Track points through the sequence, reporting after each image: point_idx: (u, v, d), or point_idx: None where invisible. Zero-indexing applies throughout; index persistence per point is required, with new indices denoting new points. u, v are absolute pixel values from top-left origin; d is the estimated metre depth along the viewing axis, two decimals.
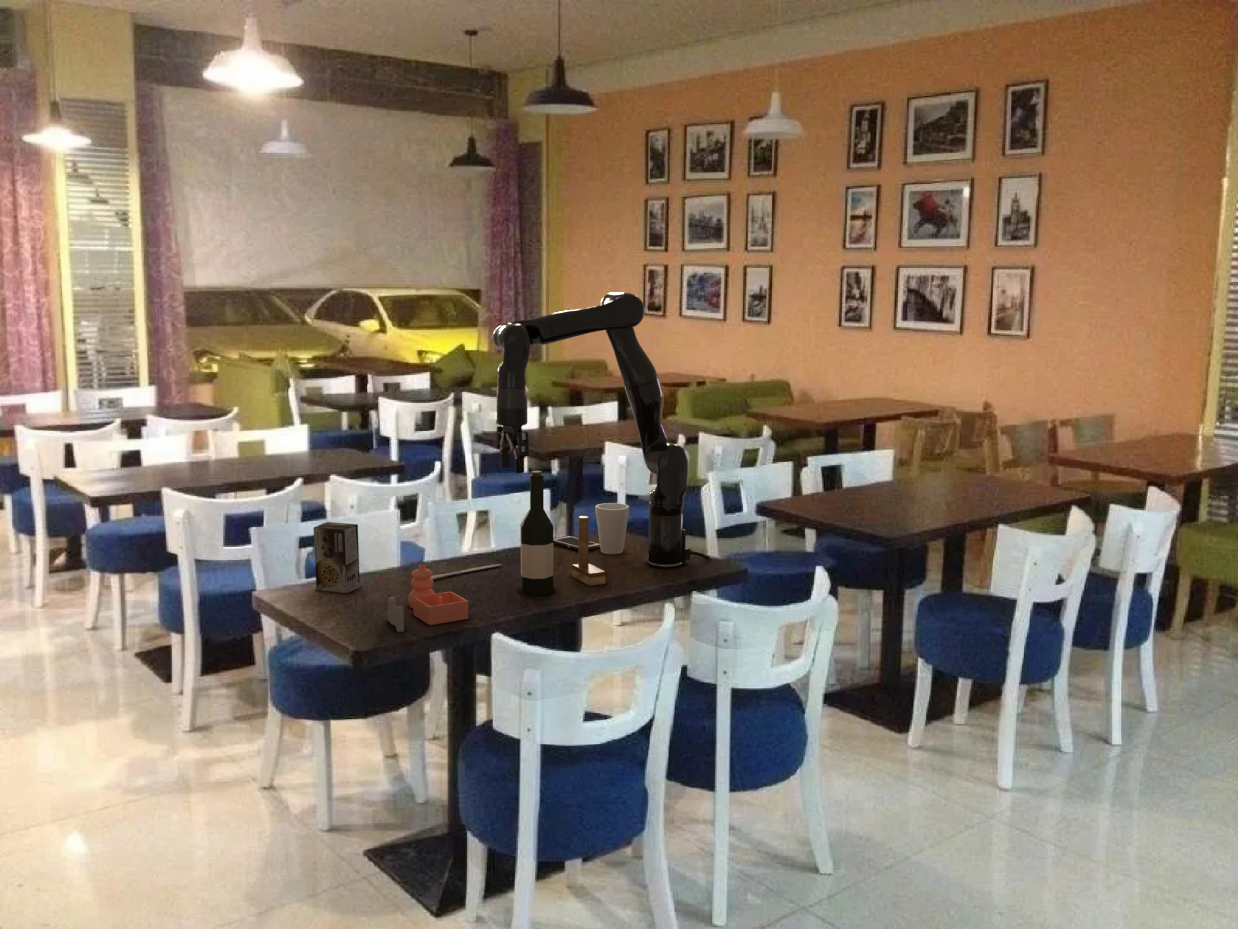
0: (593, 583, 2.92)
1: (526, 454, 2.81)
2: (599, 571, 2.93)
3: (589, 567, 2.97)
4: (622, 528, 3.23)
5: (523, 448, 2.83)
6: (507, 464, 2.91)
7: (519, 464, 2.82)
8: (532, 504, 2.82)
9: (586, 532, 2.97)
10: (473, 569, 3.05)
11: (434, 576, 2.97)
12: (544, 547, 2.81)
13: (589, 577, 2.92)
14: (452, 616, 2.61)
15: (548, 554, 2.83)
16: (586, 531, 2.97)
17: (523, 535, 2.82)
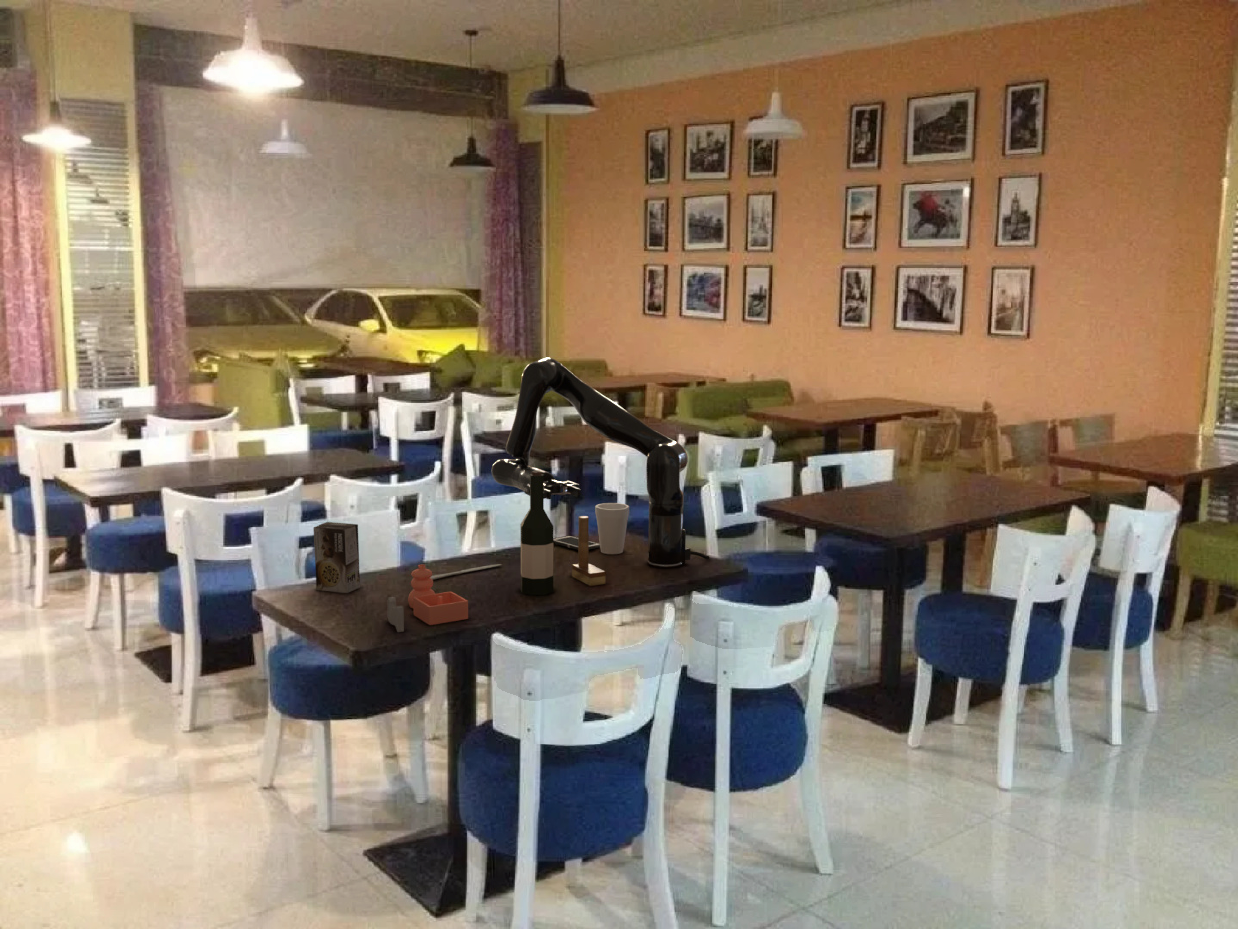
0: (593, 583, 2.92)
1: None
2: (599, 571, 2.93)
3: (589, 567, 2.97)
4: (622, 528, 3.23)
5: None
6: (576, 491, 3.08)
7: None
8: (532, 504, 2.82)
9: (586, 532, 2.97)
10: (473, 569, 3.05)
11: (434, 576, 2.97)
12: (544, 547, 2.81)
13: (589, 577, 2.92)
14: (452, 616, 2.61)
15: (548, 554, 2.83)
16: (586, 531, 2.97)
17: (523, 535, 2.82)
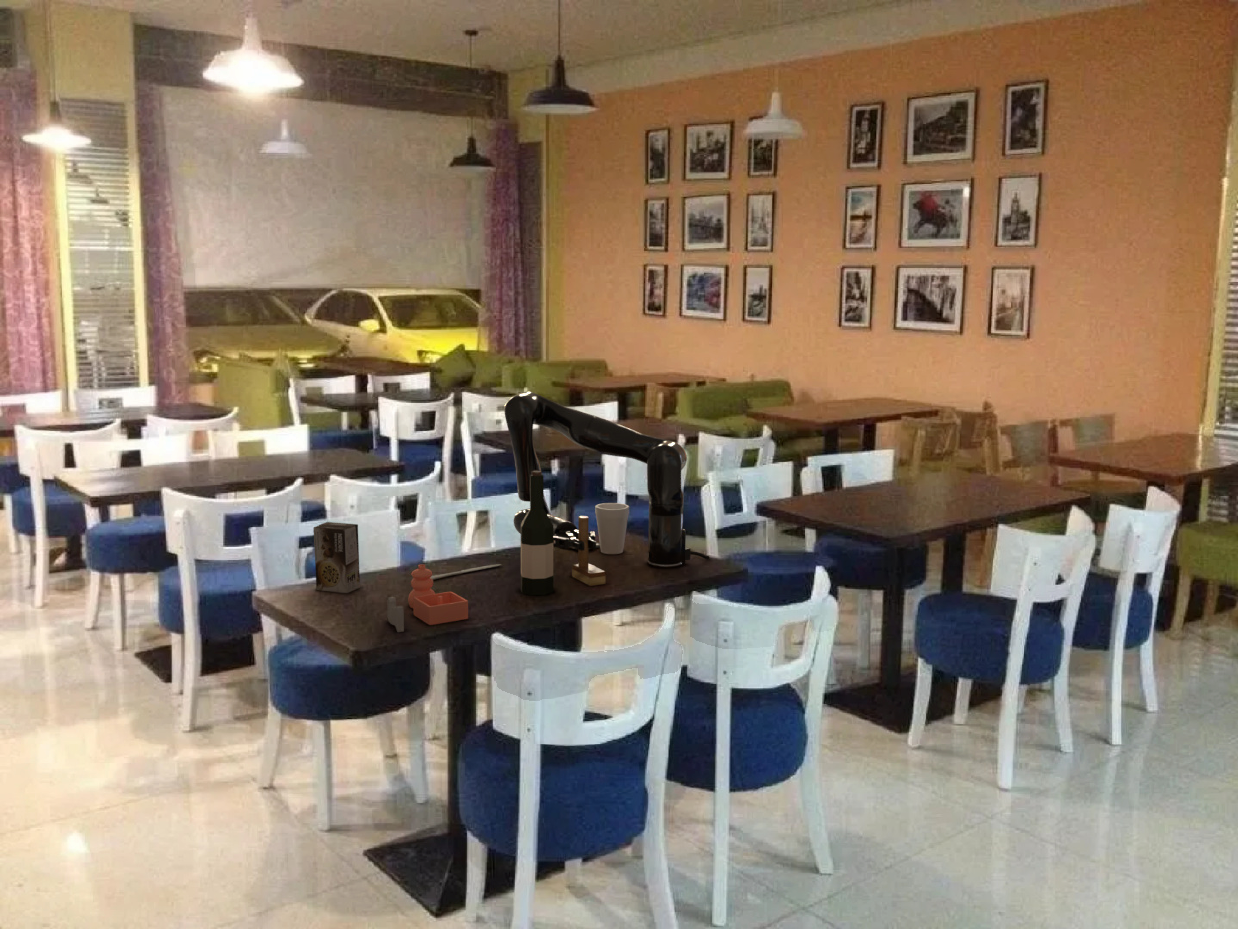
0: (593, 583, 2.92)
1: (564, 541, 2.98)
2: (599, 571, 2.93)
3: (589, 567, 2.97)
4: (622, 528, 3.23)
5: (569, 538, 3.00)
6: (591, 543, 2.97)
7: (575, 547, 2.96)
8: (532, 504, 2.82)
9: (586, 532, 2.97)
10: (473, 569, 3.05)
11: (434, 576, 2.97)
12: (544, 547, 2.81)
13: (589, 577, 2.92)
14: (452, 616, 2.61)
15: (548, 554, 2.83)
16: (586, 531, 2.97)
17: (523, 535, 2.82)
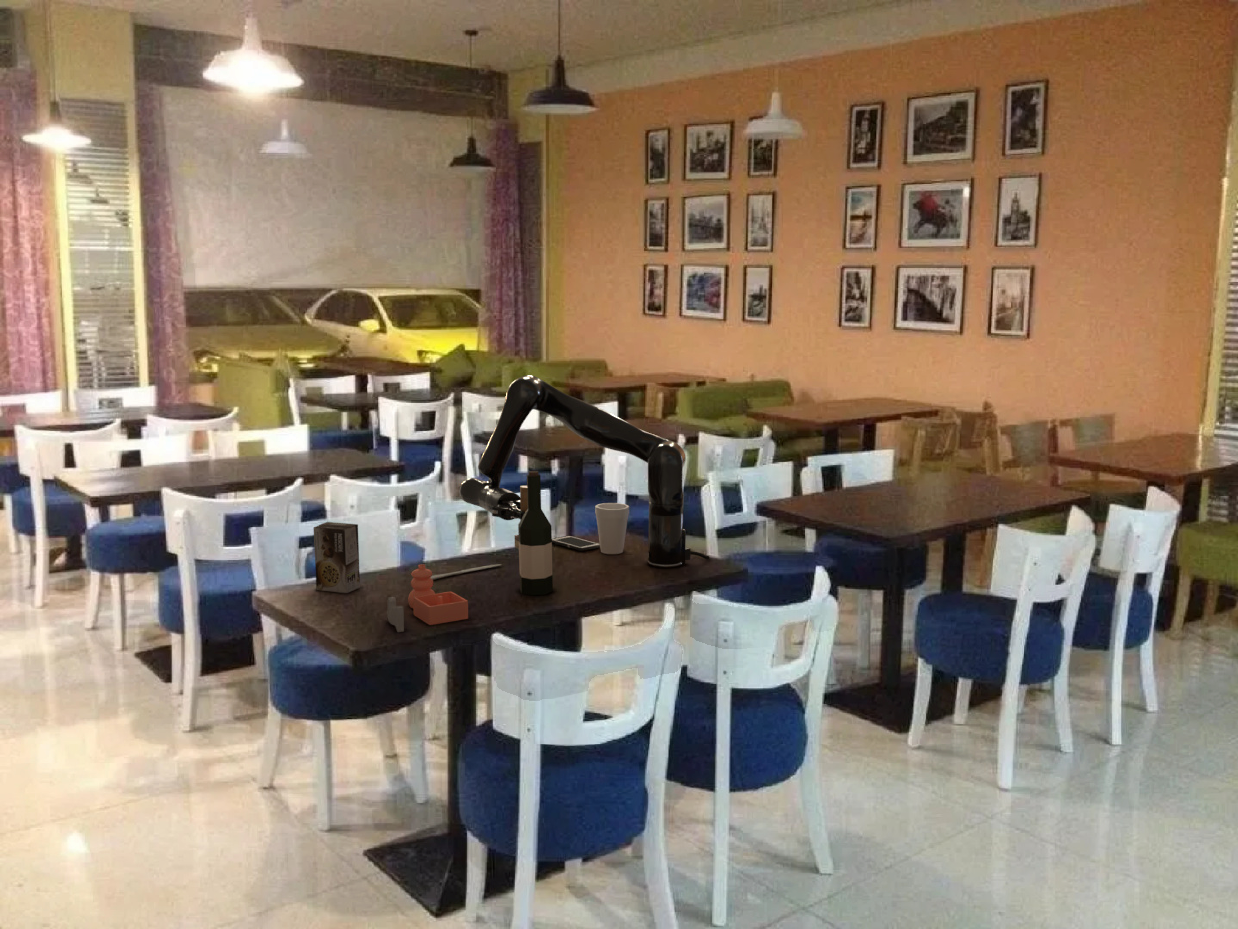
0: None
1: (506, 511, 2.95)
2: None
3: None
4: (622, 528, 3.23)
5: (511, 508, 2.96)
6: None
7: (517, 516, 2.93)
8: (530, 504, 2.81)
9: None
10: (473, 569, 3.05)
11: (434, 576, 2.97)
12: (543, 547, 2.81)
13: None
14: (452, 616, 2.61)
15: (547, 554, 2.83)
16: None
17: (521, 535, 2.81)
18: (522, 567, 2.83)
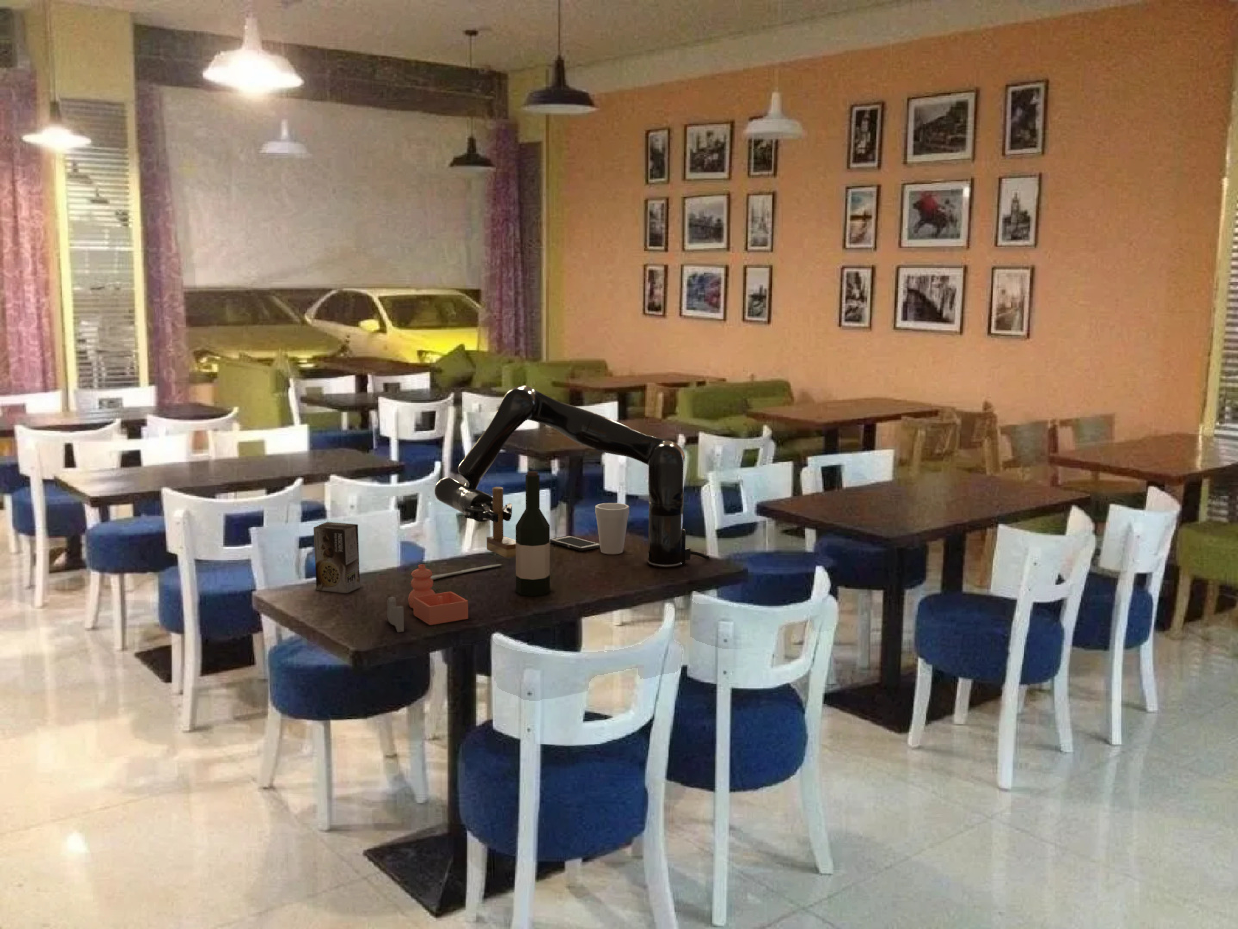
0: (510, 555, 2.86)
1: (478, 513, 2.91)
2: (515, 543, 2.87)
3: (504, 539, 2.91)
4: (622, 528, 3.23)
5: (484, 509, 2.93)
6: (506, 515, 2.90)
7: (489, 518, 2.90)
8: (529, 505, 2.81)
9: (501, 503, 2.90)
10: (473, 569, 3.05)
11: (434, 576, 2.97)
12: (544, 547, 2.82)
13: (505, 549, 2.85)
14: (452, 616, 2.61)
15: (547, 553, 2.83)
16: (501, 502, 2.90)
17: (522, 536, 2.81)
18: (522, 568, 2.82)
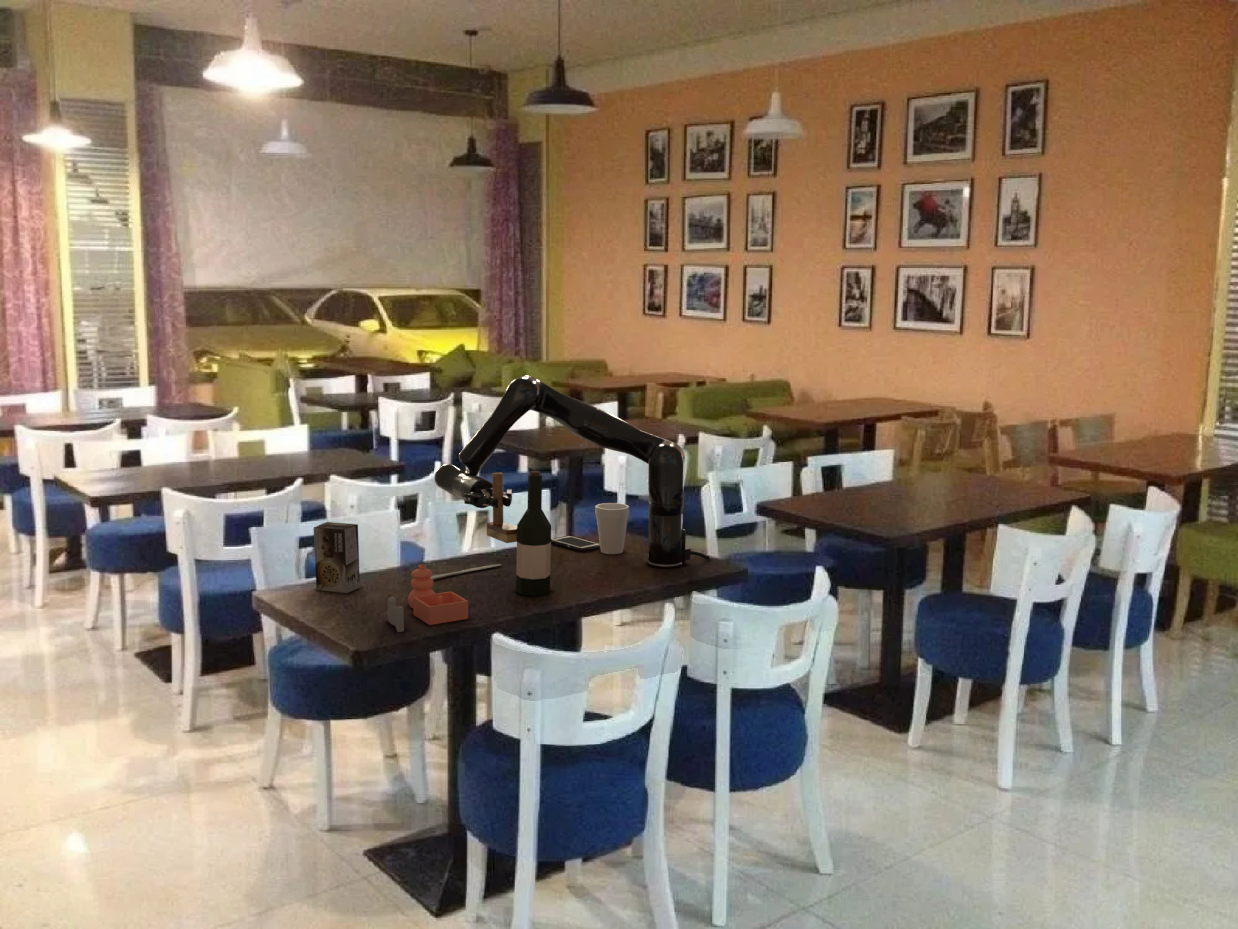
0: (510, 540, 2.85)
1: (478, 498, 2.90)
2: (515, 528, 2.86)
3: (504, 525, 2.90)
4: (622, 528, 3.23)
5: (484, 495, 2.92)
6: (506, 500, 2.89)
7: (489, 504, 2.89)
8: (531, 504, 2.81)
9: (501, 489, 2.89)
10: (473, 569, 3.05)
11: (434, 576, 2.97)
12: (545, 547, 2.82)
13: (505, 534, 2.85)
14: (452, 616, 2.61)
15: (547, 554, 2.83)
16: (501, 488, 2.89)
17: (523, 535, 2.81)
18: (522, 567, 2.82)
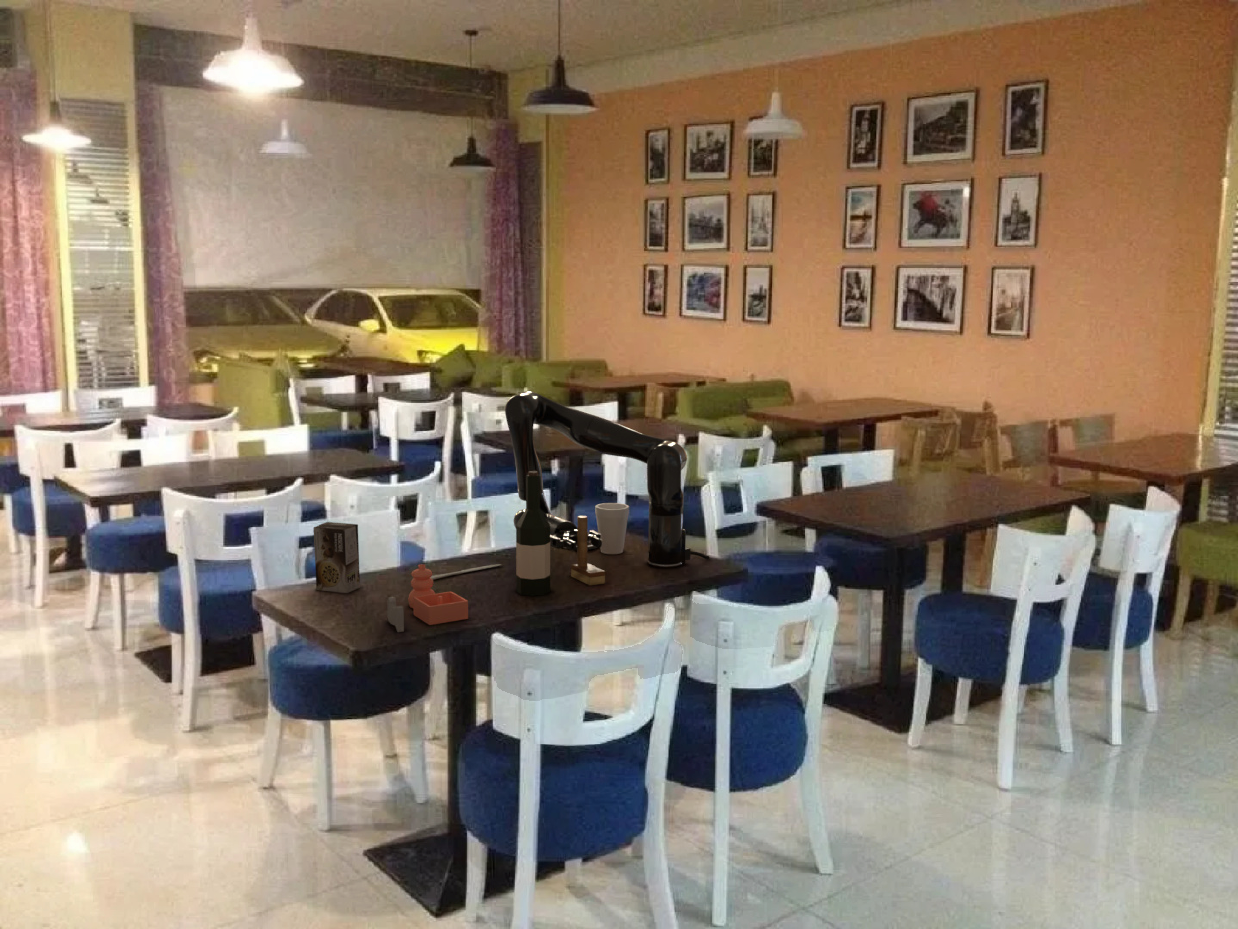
0: (593, 583, 2.93)
1: (556, 541, 2.97)
2: (599, 571, 2.94)
3: (588, 567, 2.98)
4: (622, 528, 3.23)
5: (563, 537, 2.99)
6: (597, 541, 2.98)
7: (567, 546, 2.96)
8: (529, 504, 2.81)
9: (585, 532, 2.97)
10: (473, 569, 3.05)
11: (434, 576, 2.97)
12: (543, 547, 2.82)
13: (589, 577, 2.92)
14: (452, 616, 2.61)
15: (547, 553, 2.83)
16: (585, 531, 2.97)
17: (521, 536, 2.81)
18: (522, 568, 2.82)
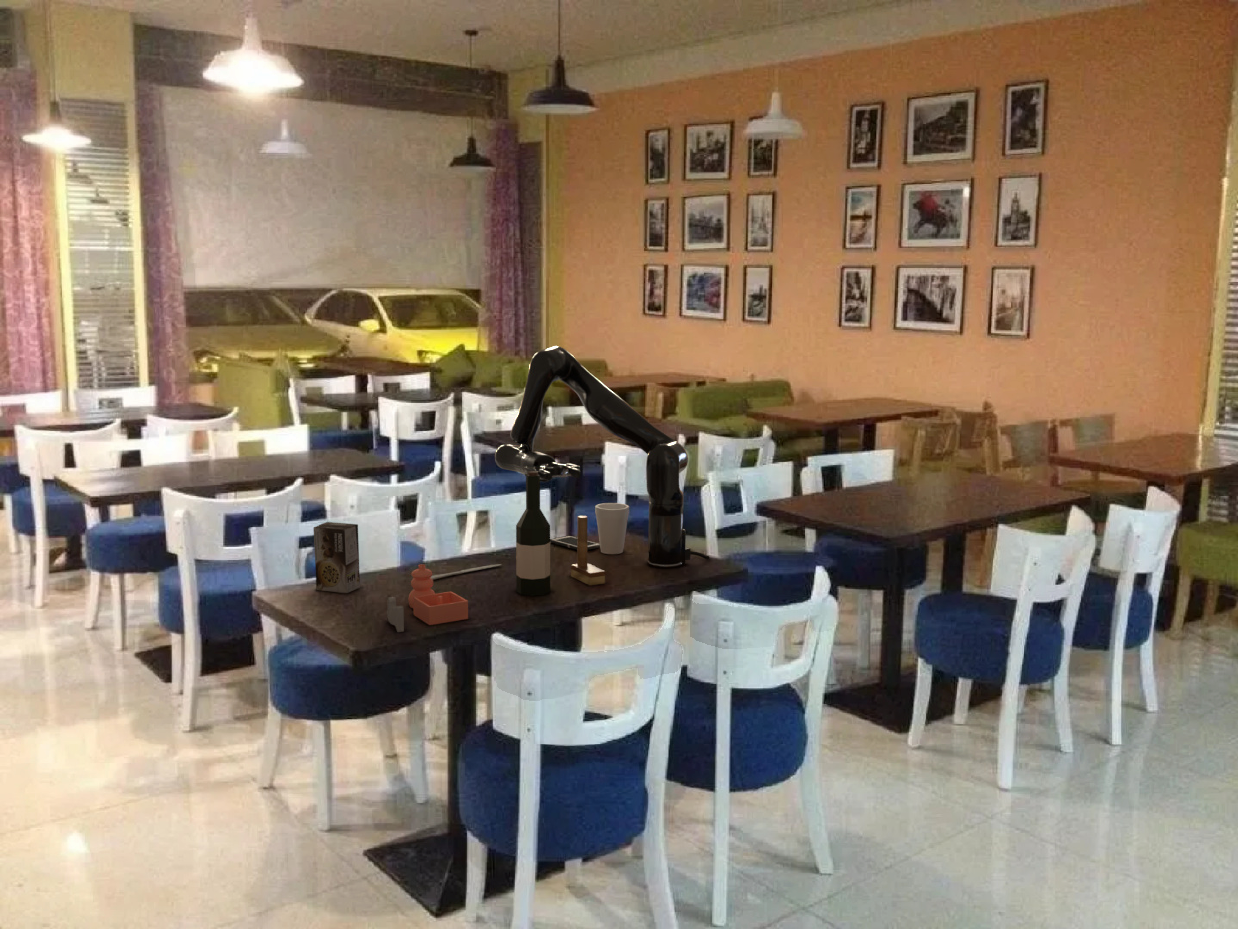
0: (593, 583, 2.93)
1: None
2: (599, 571, 2.94)
3: (588, 567, 2.98)
4: (622, 528, 3.23)
5: (539, 469, 3.08)
6: (576, 472, 3.08)
7: (542, 477, 3.05)
8: (529, 504, 2.81)
9: (585, 532, 2.97)
10: (473, 569, 3.05)
11: (434, 576, 2.97)
12: (543, 547, 2.82)
13: (589, 577, 2.92)
14: (452, 616, 2.61)
15: (547, 553, 2.83)
16: (585, 531, 2.97)
17: (521, 536, 2.81)
18: (522, 568, 2.82)
